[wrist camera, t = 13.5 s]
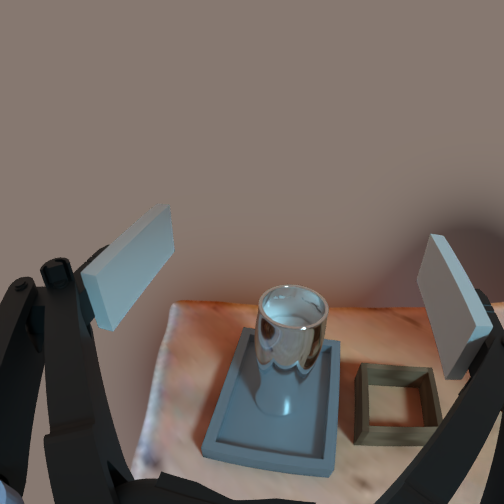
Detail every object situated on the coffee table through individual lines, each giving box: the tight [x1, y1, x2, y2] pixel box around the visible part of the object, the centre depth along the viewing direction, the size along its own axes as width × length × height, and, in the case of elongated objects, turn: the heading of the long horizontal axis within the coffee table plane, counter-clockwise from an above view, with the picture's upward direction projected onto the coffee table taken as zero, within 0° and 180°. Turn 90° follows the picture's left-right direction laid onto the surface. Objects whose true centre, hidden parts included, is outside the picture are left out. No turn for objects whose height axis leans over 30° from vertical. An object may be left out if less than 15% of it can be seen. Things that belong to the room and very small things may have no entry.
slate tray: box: [201, 327, 340, 478], centre depth 37 cm, size 14×20×2 cm
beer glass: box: [254, 284, 329, 416], centre depth 33 cm, size 7×7×15 cm
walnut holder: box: [354, 363, 443, 446], centre depth 34 cm, size 11×11×4 cm
